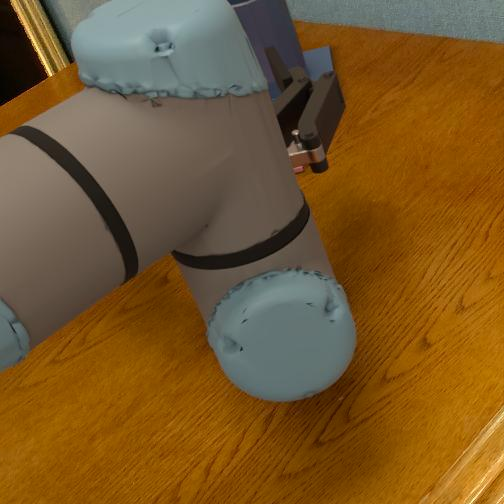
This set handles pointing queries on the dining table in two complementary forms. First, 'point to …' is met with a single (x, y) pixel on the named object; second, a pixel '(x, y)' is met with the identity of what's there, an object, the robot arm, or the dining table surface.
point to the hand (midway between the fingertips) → (189, 92)
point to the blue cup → (271, 35)
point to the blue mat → (318, 62)
